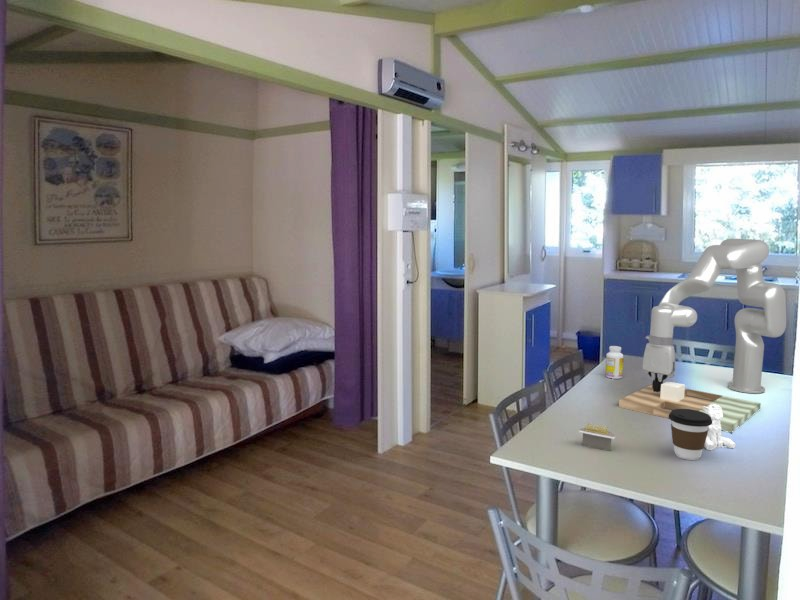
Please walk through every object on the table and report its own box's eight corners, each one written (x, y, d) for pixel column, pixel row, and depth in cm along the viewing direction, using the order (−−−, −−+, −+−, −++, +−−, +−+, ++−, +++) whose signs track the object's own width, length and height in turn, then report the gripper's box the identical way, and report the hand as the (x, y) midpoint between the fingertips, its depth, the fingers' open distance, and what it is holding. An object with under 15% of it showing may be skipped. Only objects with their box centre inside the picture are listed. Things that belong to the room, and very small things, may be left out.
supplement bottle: (620, 375, 254) (621, 345, 252) (624, 379, 247) (626, 348, 246) (603, 375, 255) (605, 345, 253) (607, 379, 248) (609, 348, 246)
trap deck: (655, 388, 234) (655, 382, 234) (760, 409, 210) (760, 402, 209) (618, 406, 212) (619, 399, 211) (731, 432, 187) (732, 425, 186)
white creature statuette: (707, 451, 172) (711, 410, 170) (687, 440, 180) (690, 401, 178) (736, 449, 174) (740, 408, 172) (715, 438, 182) (718, 399, 180)
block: (666, 394, 218) (667, 381, 217) (684, 398, 214) (685, 384, 213) (660, 398, 214) (661, 384, 213) (677, 401, 210) (678, 387, 209)
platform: (572, 436, 184) (573, 415, 183) (634, 448, 175) (635, 426, 174) (559, 448, 174) (560, 426, 173) (624, 462, 165) (626, 439, 164)
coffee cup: (689, 466, 161) (692, 422, 160) (657, 451, 171) (660, 410, 169) (718, 460, 165) (722, 417, 164) (685, 446, 175) (688, 406, 174)
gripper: (635, 339, 218) (632, 388, 220) (678, 345, 207) (674, 397, 210) (644, 336, 223) (640, 385, 225) (686, 342, 213) (682, 393, 215)
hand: (657, 391), depth 218 cm, fingers closed
